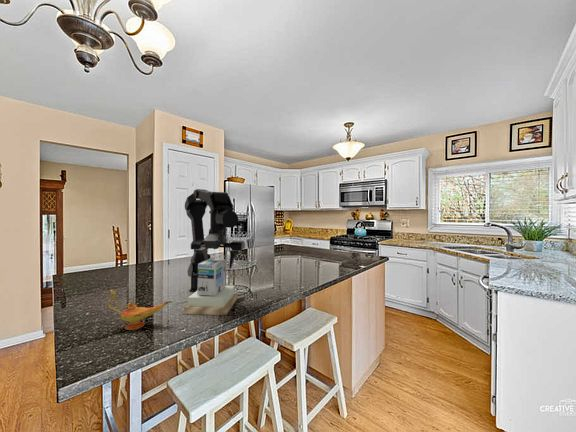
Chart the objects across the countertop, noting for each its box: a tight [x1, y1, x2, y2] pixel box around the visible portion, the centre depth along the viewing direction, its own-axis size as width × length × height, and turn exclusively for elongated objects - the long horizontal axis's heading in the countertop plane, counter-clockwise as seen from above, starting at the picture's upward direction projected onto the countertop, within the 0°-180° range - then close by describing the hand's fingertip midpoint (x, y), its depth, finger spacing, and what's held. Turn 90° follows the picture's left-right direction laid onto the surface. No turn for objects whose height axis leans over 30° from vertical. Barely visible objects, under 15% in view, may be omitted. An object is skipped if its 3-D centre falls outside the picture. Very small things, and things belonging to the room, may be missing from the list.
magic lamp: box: [107, 289, 173, 331], centre depth 76 cm, size 7×18×11 cm, turn 99°
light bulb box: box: [197, 257, 227, 296], centre depth 92 cm, size 11×7×11 cm, turn 175°
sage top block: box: [187, 284, 236, 307], centre depth 93 cm, size 12×14×3 cm
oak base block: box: [183, 291, 239, 316], centre depth 93 cm, size 14×16×3 cm
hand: (218, 268), depth 95 cm, fingers open, 9 cm apart
